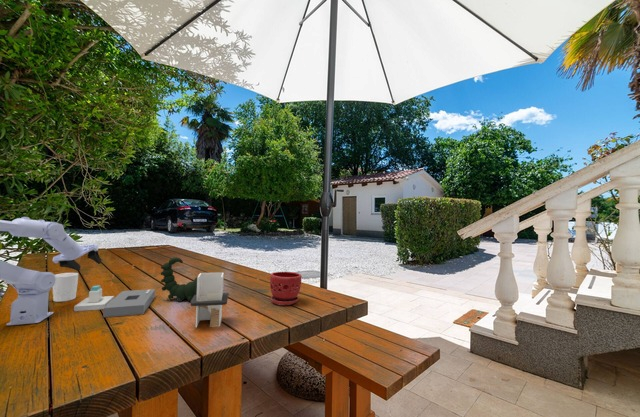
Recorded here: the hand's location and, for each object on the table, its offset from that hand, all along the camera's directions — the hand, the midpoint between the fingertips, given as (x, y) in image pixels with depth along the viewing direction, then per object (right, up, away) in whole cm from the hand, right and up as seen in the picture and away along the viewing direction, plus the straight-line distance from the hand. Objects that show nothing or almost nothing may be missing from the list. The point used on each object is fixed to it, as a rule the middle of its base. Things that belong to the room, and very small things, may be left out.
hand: (89, 265), depth 115 cm
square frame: (+7, -14, -6) cm, 17 cm away
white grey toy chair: (+56, -16, -20) cm, 61 cm away
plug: (+7, -14, -6) cm, 17 cm away
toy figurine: (+40, -16, +4) cm, 43 cm away
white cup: (-10, -14, 0) cm, 18 cm away
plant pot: (+79, -17, +5) cm, 81 cm away
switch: (+21, -15, -5) cm, 26 cm away
